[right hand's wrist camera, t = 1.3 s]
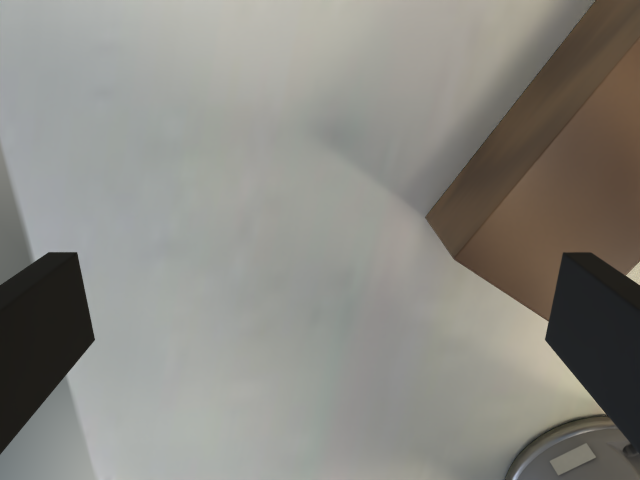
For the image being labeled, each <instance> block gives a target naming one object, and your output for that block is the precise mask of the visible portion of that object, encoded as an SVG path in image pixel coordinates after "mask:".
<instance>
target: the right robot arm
mask: <svg viewBox="0 0 640 480" xmlns="http://www.w3.org/2000/svg"><path fill="white" fill-rule="evenodd" d="M94 340H95V338H94V333H93V328H92V323H91V318H90V313H89V308H88V304H87V299H86V294H85V289H84V284H83V279H82V274H81V269H80V264H79V259H78V255H77V252H49V253H47V254H46V255H44V256H43V257H41V258H40V259H38V260H37V261H35V262H34V263H32V264H31V265H30V266H28V267H26V268H25V269H24V270H22V271H21V272H19V273H18V274H16V275H15V276H13V277H12V278H10V279H9V280H7V281H6V282H4V283H3V284H2V285H0V454H1V453H2V452H3V450H4V449H5V448H6V447H7V446H8V444H9V443H10V442H11V441H12V440H13V438H14V437H15V436H16V435H17V434H18V432H19V431H20V430H21V429H22V427H23V426H24V425H25V424H26V423H27V421H28V420H29V419H30V418H31V416H32V415H33V414H34V413H35V412H36V411H37V409H38V408H39V407H40V406H41V404H42V403H43V402H44V401H45V400H46V398H47V397H48V396H49V395H50V394H51V392H52V391H53V390H54V389H55V388H56V386H57V385H58V384H59V383H60V382H61V380H62V379H63V378H64V377H65V375H66V374H67V373H68V372H69V371H70V369H71V368H72V367H73V366H74V365H75V363H76V362H77V361H78V360H79V359H80V357H81V356H82V355H83V354H84V352H85V351H86V350H87V349H88V348H89V346H90V345H91V344H92V343H93V342H94ZM545 340H546V342H547V343H548V344H549V345H550V346H551V348H552V349H553V350H554V351H555V352H556V354H557V355H558V356H559V357H560V359H561V360H562V361H563V362H564V363H565V365H566V366H567V367H568V368H569V369H570V371H571V372H572V373H573V374H574V375H575V377H576V378H577V379H578V380H579V382H580V383H581V384H582V385H583V386H584V388H585V389H586V390H587V391H588V392H589V394H590V395H591V396H592V397H593V398H594V400H595V401H596V402H597V403H598V405H599V406H600V407H601V408H602V409H603V411H604V412H605V413H606V414H607V415H608V416H607V417H592V418H586V419H581V420H577V421H573V422H570V423H567V424H564V425H561V426H559V427H557V428H554V429H552V430H550V431H548V432H547V433H545V434H543V435H542V436H540V437H539V438H537V439H536V440H534V441H533V442H532V443H530V444H529V445H528V446H527V447H526V448H525V449H524V450H523V451H522V452H521V453H520V454H519V455H518V456H517V458H516V459H515V460H514V462H513V463H512V465H511V467H510V469H509V471H508V473H507V475H506V478H505V480H640V285H638V284H637V283H636V282H634V281H633V280H631V279H630V278H628V277H627V276H625V275H624V274H622V273H621V272H619V271H618V270H616V269H615V268H614V267H612V266H611V265H609V264H608V263H606V262H605V261H603V260H602V259H600V258H599V257H597V256H596V255H594V254H593V253H591V252H563V255H562V259H561V264H560V269H559V274H558V279H557V284H556V289H555V294H554V299H553V304H552V308H551V313H550V318H549V323H548V328H547V333H546V338H545Z"/></svg>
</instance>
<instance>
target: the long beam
mask: <svg viewBox="0 0 640 480" xmlns="http://www.w3.org/2000/svg"><path fill="white" fill-rule="evenodd" d="M425 218H426V220H427V221H428V222H429V224H430V225H431V227H432V228H433V230H434V231H435V233H436V234H437V236H438V237H439V238H440V240H441V241H442V243H443V244H444V246H445V247H446V249H447V250H448V251H449V253H450V254H451V256H452V257H453V259H454V260H456V261H457V262H459V263H460V264H462V265H463V266H465V267H466V268H468V269H469V270H471V271H472V272H474V273H475V274H477V275H478V276H480V277H482V278H483V279H485V280H486V281H488V282H489V283H491V284H492V285H494V286H495V287H497V288H498V289H500V290H501V291H503V292H504V293H506V294H507V295H509V296H511V297H512V298H514V299H515V300H517V301H518V302H520V303H521V304H523V305H524V306H526V307H527V308H529V309H530V310H532V311H533V312H535V313H536V314H538V315H540V316H541V317H543V318H544V319H546V320H547V321H549V318H550V313H551V308H552V304H553V299H554V294H555V289H556V284H557V279H558V274H559V269H560V264H561V259H562V255H563V252H591V253H593V254H594V255H596V256H597V257H599V258H600V259H602V260H603V261H605V262H606V263H608V264H609V265H611V266H612V267H614V268H615V269H616V270H618V271H619V272H621V273H622V274H624V275H625V276H626V275H627V274H628V273H629V272H630V271H631V270H632V269H633V268H634V267H635V266H636V265H637V264H638V263H639V262H640V0H596V1H595V2H594V4H593V5H592V6H591V7H590V9H589V10H588V11H587V12H586V14H585V15H584V16H583V18H582V19H581V20H580V21H579V23H578V24H577V25H576V26H575V28H574V29H573V30H572V31H571V33H570V34H569V35H568V37H567V38H566V39H565V40H564V42H563V43H562V44H561V45H560V47H559V48H558V49H557V51H556V52H555V53H554V54H553V56H552V57H551V58H550V59H549V61H548V62H547V63H546V65H545V66H544V67H543V68H542V70H541V71H540V72H539V73H538V75H537V76H536V77H535V79H534V80H533V81H532V82H531V84H530V85H529V86H528V87H527V89H526V90H525V91H524V92H523V94H522V95H521V96H520V98H519V99H518V100H517V101H516V103H515V104H514V105H513V106H512V108H511V109H510V110H509V112H508V113H507V114H506V115H505V117H504V118H503V119H502V120H501V122H500V123H499V124H498V126H497V127H496V128H495V129H494V131H493V132H492V133H491V134H490V136H489V137H488V138H487V140H486V141H485V142H484V143H483V145H482V146H481V147H480V148H479V150H478V151H477V152H476V154H475V155H474V156H473V157H472V159H471V160H470V161H469V162H468V164H467V165H466V166H465V167H464V169H463V170H462V171H461V173H460V174H459V175H458V176H457V178H456V179H455V180H454V181H453V183H452V184H451V185H450V187H449V188H448V189H447V190H446V192H445V193H444V194H443V195H442V197H441V198H440V199H439V201H438V202H437V203H436V204H435V206H434V207H433V208H432V209H431V211H430V212H429V213H428V215H427V216H426V217H425Z"/></svg>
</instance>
